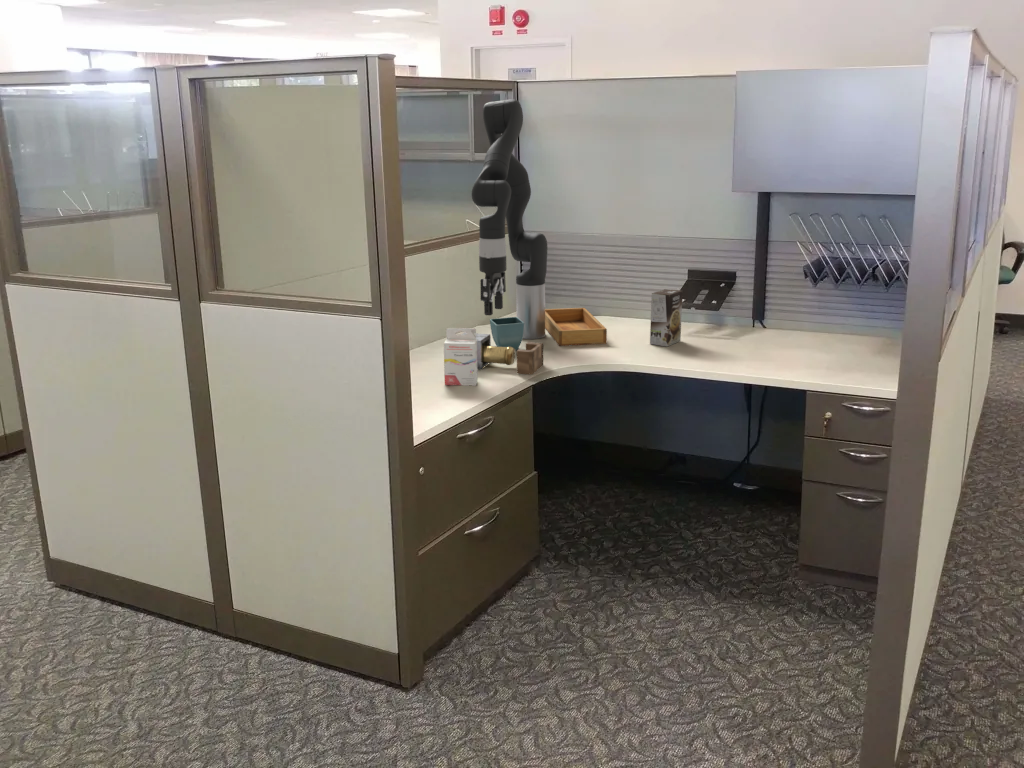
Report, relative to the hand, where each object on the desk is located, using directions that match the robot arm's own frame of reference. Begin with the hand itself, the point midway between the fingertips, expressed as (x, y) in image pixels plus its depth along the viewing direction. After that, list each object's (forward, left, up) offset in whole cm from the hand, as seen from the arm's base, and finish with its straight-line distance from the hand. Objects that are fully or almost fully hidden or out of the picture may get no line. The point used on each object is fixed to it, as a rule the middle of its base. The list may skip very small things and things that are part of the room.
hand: (493, 311), depth 256 cm
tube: (0, -3, -16) cm, 16 cm away
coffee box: (-41, +42, -16) cm, 61 cm away
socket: (0, +11, -16) cm, 19 cm away
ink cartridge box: (+18, -3, -16) cm, 24 cm away
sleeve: (0, -7, -16) cm, 17 cm away
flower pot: (-20, -3, -16) cm, 26 cm away
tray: (-45, +11, -17) cm, 49 cm away
